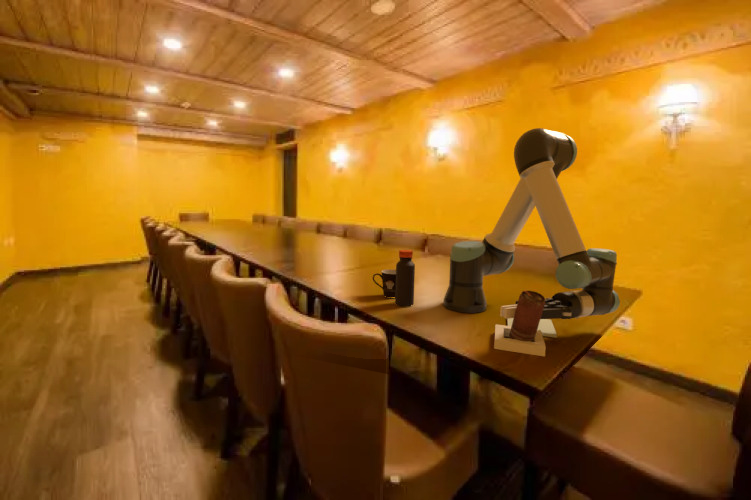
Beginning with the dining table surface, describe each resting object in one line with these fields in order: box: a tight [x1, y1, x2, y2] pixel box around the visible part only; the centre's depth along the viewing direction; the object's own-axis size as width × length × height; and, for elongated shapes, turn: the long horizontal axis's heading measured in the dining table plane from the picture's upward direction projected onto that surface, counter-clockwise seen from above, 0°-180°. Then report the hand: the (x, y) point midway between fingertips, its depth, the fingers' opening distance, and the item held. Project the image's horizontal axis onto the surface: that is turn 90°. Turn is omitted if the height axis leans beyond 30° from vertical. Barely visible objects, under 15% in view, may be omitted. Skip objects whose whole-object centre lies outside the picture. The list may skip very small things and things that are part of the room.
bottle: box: [394, 249, 416, 307], centre depth 125 cm, size 7×7×20 cm
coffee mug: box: [372, 269, 396, 298], centre depth 137 cm, size 12×9×10 cm
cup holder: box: [493, 324, 547, 358], centre depth 93 cm, size 12×12×2 cm
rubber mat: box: [506, 318, 558, 339], centre depth 105 cm, size 13×13×1 cm
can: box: [508, 290, 546, 342], centre depth 89 cm, size 6×6×14 cm
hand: (503, 312), depth 90 cm, fingers closed on can
